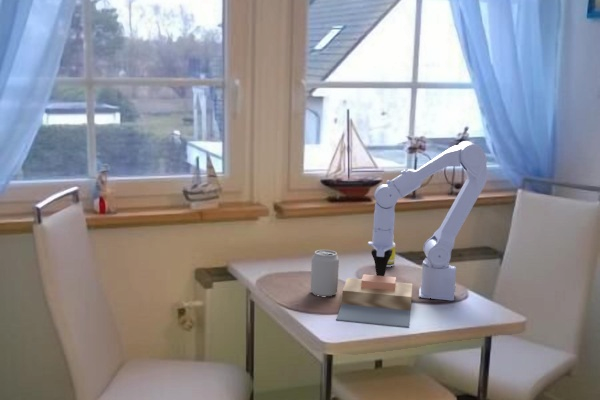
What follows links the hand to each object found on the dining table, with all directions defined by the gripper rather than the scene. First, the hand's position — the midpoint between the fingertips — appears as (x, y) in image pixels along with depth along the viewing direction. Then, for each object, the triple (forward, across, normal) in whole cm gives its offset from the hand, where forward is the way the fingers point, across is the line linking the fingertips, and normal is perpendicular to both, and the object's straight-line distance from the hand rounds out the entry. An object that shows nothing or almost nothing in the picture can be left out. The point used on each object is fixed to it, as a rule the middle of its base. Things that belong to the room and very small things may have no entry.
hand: (380, 275), depth 204 cm
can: (+5, +6, -15) cm, 17 cm away
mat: (+5, +20, 0) cm, 20 cm away
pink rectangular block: (+1, +7, 0) cm, 7 cm away
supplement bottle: (+5, -29, 0) cm, 30 cm away
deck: (+5, +8, 0) cm, 9 cm away
